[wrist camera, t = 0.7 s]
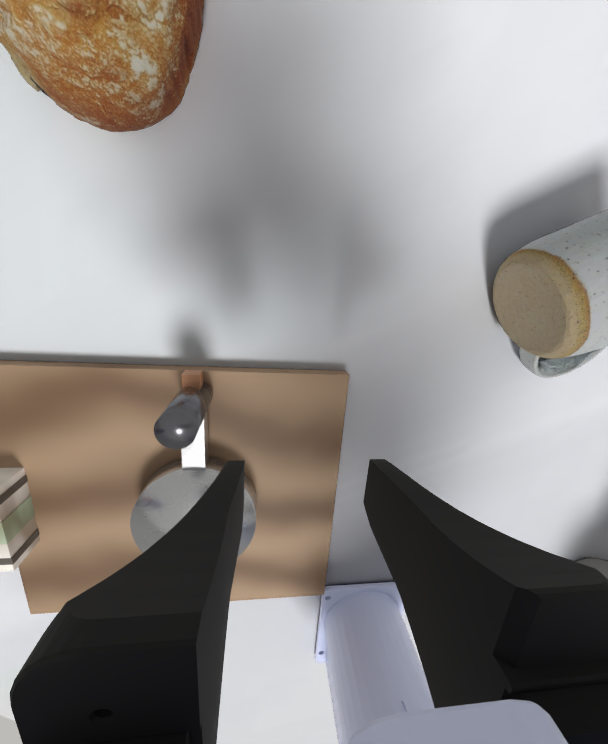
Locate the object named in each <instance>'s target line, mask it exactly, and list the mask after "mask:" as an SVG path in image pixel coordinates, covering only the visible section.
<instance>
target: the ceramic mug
mask: <svg viewBox="0 0 608 744" xmlns="http://www.w3.org/2000/svg"><path fill="white" fill-rule="evenodd" d="M493 304H494V308H495V312H496V315H497V318H498V320H499V323H500V324H501V326H502V328H503V330H504V331H505V333H506V334H507V335H508V336H509V337H510V339H511V340H512V341H513V342H514V343H516V344H517V345H518V346H519V347H520V351H519V353H520V360H521V362H522V364H523V365H524V366H525V367H526V368H527V369H529V370H530V371H531V372H532V373H534V374H536V375H537V376H540V377H543V378H550V377H556V376H560V375H563V374H566V373H569V372H571V371H573V370H575V369H577V368H579V367H581V366H582V365H584V364H585V363H587V362H589V361H590V360H591V359H593V358H594V357H595V356H597V355H598V354H599V353H600V352H601V351H602V350H603V349H604V348H605V347H606V346H608V210H605V211H603V212H600V213H598V214H596V215H593V216H591V217H588V218H586V219H584V220H581V221H579V222H577V223H575V224H572V225H570V226H568V227H566V228H563V229H561V230H558V231H556V232H553V233H551V234H548V235H546V236H543V237H541V238H538V239H536V240H534V241H532V242H530V243H529V244H527V245H525V246H524V247H522V248H521V249H519V250H517V251H516V252H514V253H513V254H511V255H510V256H509V257H508V258H507V259H506V260H505V261H504V262H503V263H502V265H501V266H500V268H499V270H498V272H497V275H496V277H495V280H494V285H493ZM540 357H542V358H551V359H547V360H544V361H539V362H538V360H539V358H540Z"/></svg>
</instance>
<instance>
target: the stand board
mask: <svg viewBox="0 0 608 744" xmlns="http://www.w3.org/2000/svg"><path fill="white" fill-rule="evenodd" d="M185 370H203V381H204V382H206V383H207V384H208V385H209V386H210V387H211V389H212V392H213V398H212V401H211V403H210V405H209V408H208V410H207V417H208V456H210V457H215V458H219V459H222V460H225V461H234V460H245V465H244V473H245V474H246V476H247V477H248V478H249V479H250V481H251V483H252V485H253V487H254V489H255V493H256V498H257V508H256V527H255V532H254V536H253V538H252V540H251V542H250V544H249V545H248V547H247V548H246V549H245V551H244V552H243V553H242V554H241V555H240V556H238V557H237V562H236V567H235V573H234V578H233V584H232V589H231V595H230V601H236V600H252V599H267V598H282V597H297V596H312V595H324V592H325V583H326V574H327V565H328V557H329V548H330V539H331V530H332V521H333V513H334V504H335V495H336V486H337V478H338V469H339V460H340V451H341V443H342V434H343V425H344V416H345V408H346V399H347V390H348V381H349V374H348V373H347V372H346V371H333V370H301V369H269V368H236V367H204V366H172V365H139V364H107V363H75V362H43V361H10V360H0V572H3V571H15V569H16V568H17V567H18V566H19V570H20V574H21V578H22V582H23V586H24V590H25V594H26V598H27V601H28V605H29V609H30V613H31V614H39V613H54V612H60V610H61V609H62V608H63V606H64V605H65V603H66V602H67V601H69V600H71V599H73V598H74V597H76V596H78V595H79V594H81V593H83V592H84V591H86V590H88V589H89V588H91V587H93V586H94V585H96V584H98V583H99V582H101V581H103V580H104V579H106V578H108V577H109V576H111V575H112V574H114V573H115V572H117V571H118V570H120V569H121V568H123V567H124V566H125V565H127V564H128V563H130V562H131V561H133V560H134V559H135V558H137V557H138V556H139V555H141V554H142V553H143V552H142V551H141V550H140V549H139V548H138V546H137V545H136V543H135V541H134V539H133V536H132V533H131V528H130V519H131V513H132V510H133V507H134V505H135V503H136V501H137V500H138V498H139V496H140V494H141V493H142V491H143V489H144V487H145V486H146V484H147V482H148V481H149V479H150V478H151V477H152V475H153V474H154V473H155V472H156V471H157V470H159V469H160V468H161V467H163V466H164V465H166V464H168V463H170V462H172V461H174V460H177V459H180V458H182V452H181V449H170V448H167V447H165V446H163V445H162V444H160V443H159V442H158V441H157V439H156V437H155V435H154V425H155V423H156V421H157V420H158V418H159V417H160V416H161V414H162V413H163V412H164V410H165V409H166V408H167V406H168V405H169V404H170V402H171V401H172V400H173V399H174V397H175V396H176V395H177V393H178V392H179V391H180V389H181V388H182V376H181V374H182V373H183V372H184V371H185Z"/></svg>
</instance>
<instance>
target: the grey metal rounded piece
mask: <svg viewBox="0 0 608 744" xmlns="http://www.w3.org/2000/svg"><path fill="white" fill-rule="evenodd" d="M181 376H182V388H181V389H180V391H179V392H178V393H177V395H176V396H175V397H174V399H173V400H172V401H171V402H170V404H169V405H168V406H167V408H166V409H165V410H164V412H163V413H162V414H161V416H160V417H159V418H158V420H157V421H156V423H155V425H154V435H155V437H156V439H157V441H158V442H159V443H160V444H162V445H163V446H165V447H167V448H170V449H181V452H182V458H180V459H177V460H174V461H172V462H170V463H168V464H166V465H164V466H163V467H161V468H160V469H159V470H157V471H156V472H155V473H154V474H153V475H152V477H151V478H150V479H149V481H148V482H147V484H146V486H145V487H144V489H143V491H142V493H141V494H140V496H139V498H138V500H137V501H136V503H135V505H134V507H133V510H132V513H131V519H130V528H131V533H132V536H133V539H134V541H135V543H136V545H137V546H138V548H139V549H140V550H141V551H142V552H145V551H146V550H147V549H149V548H150V547H151V546H152V545H153V544H155V543H156V542H157V541H158V540H159V539H160V538H162V537H163V536H164V535H165V534H166V533H167V532H168V531H170V530H171V529H172V528H173V527H174V526H175V525H176V524H177V523H178V522H179V521H180V520H181V519H182V518H183V517H184V516H185V515H186V514H187V513H188V512H189V511H190V509H191V508H192V507H193V506H194V505H195V504H196V503H197V501H198V500H199V499H200V498H201V497H202V496H203V494H204V493H205V492H206V490H207V489H208V488H209V487H210V485H211V484H212V483H213V481H214V480H215V478H216V477H217V476H218V474H219V473H220V471H221V470H222V468H223V466H224V464H225V463H226V462H227V461H225V460H222V459H219V458H215V457H210V456H208V417H207V410H208V408H209V405H210V403H211V401H212V398H213V392H212V389H211V387H210V386H209V385H208V384H207V383H206V382H204V381H203V370H185V371H184V372H183V373H182V374H181ZM256 508H257V498H256V493H255V489H254V487H253V485H252V483H251V481H250V479H249V478H248V477H247V476H246V474H245V473H244V512H243V525H242V534H241V540H240V545H239V551H238V556H240V555H241V554H242V553H243V552H244V551H245V549H246V548H247V547H248V545H249V544H250V542H251V540H252V538H253V536H254V532H255V527H256ZM238 556H237V557H238Z"/></svg>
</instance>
